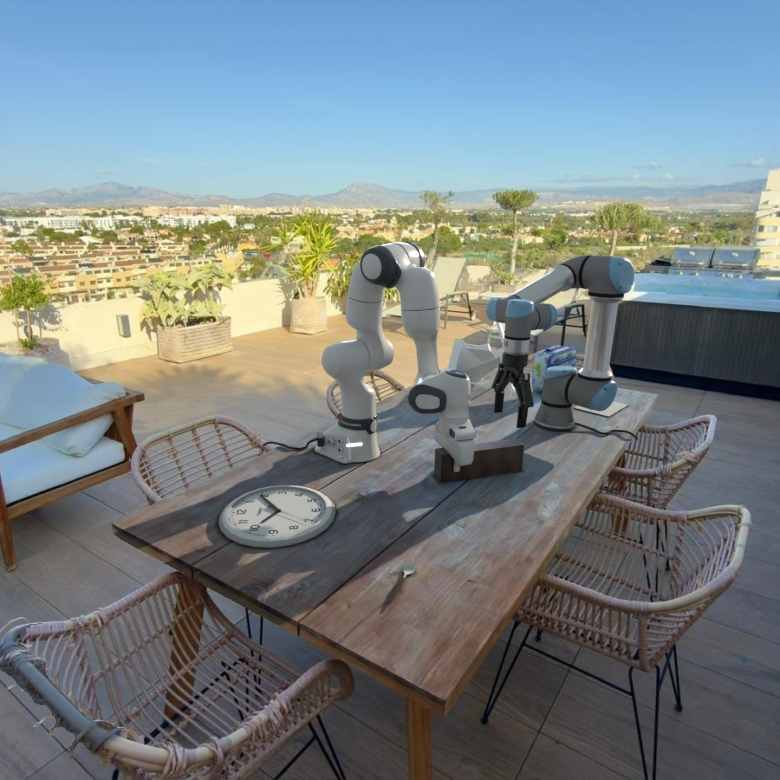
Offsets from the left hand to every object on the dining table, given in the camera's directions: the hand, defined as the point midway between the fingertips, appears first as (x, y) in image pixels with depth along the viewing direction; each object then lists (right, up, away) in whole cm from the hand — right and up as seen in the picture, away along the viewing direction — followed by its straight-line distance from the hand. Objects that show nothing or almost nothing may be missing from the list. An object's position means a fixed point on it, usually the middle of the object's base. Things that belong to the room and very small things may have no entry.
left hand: (451, 466), depth 159 cm
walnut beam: (+9, -3, +4) cm, 10 cm away
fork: (-16, -18, -47) cm, 53 cm away
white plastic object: (+23, +22, +84) cm, 90 cm away
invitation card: (+73, +16, +67) cm, 100 cm away
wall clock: (-48, -10, -21) cm, 54 cm away
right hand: (+18, +14, +2) cm, 23 cm away
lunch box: (+58, +23, +89) cm, 109 cm away
